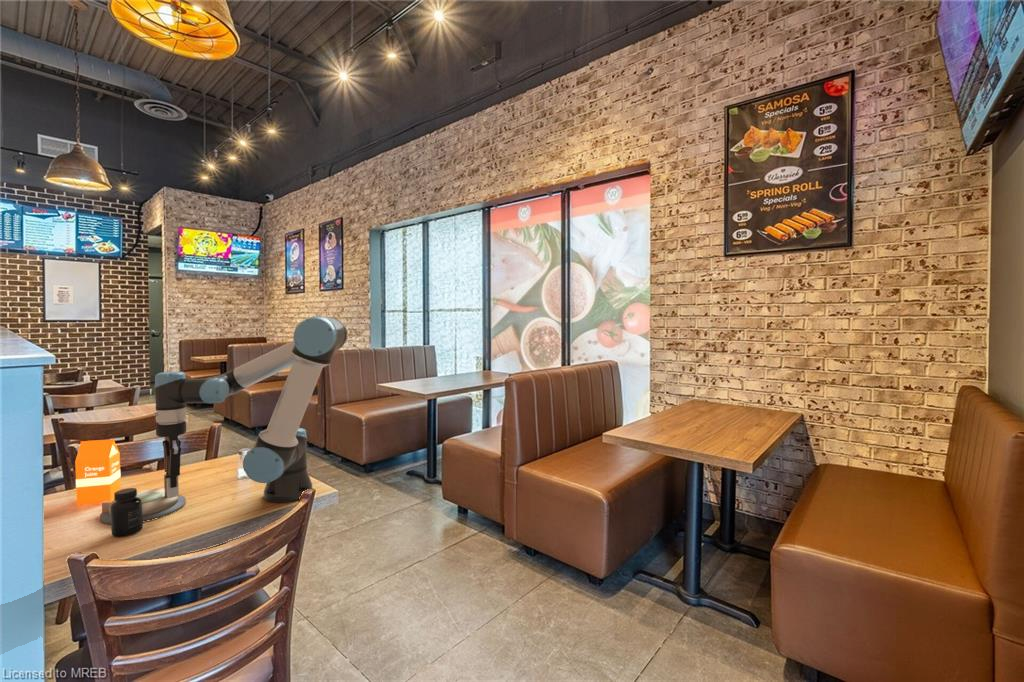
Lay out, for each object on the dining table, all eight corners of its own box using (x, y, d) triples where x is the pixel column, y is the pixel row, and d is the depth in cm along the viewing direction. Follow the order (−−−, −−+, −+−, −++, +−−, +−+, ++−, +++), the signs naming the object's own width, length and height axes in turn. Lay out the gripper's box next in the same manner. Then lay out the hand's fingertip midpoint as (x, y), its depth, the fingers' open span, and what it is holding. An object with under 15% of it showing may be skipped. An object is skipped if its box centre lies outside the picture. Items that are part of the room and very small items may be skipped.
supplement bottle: (143, 524, 133) (142, 484, 132) (142, 533, 127) (141, 491, 127) (112, 531, 128) (110, 489, 128) (110, 540, 123) (108, 497, 122)
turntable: (185, 492, 153) (184, 465, 153) (168, 513, 138) (167, 482, 137) (122, 499, 147) (122, 471, 147) (97, 521, 131) (96, 489, 131)
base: (193, 493, 156) (193, 482, 156) (173, 518, 136) (173, 506, 136) (118, 501, 148) (117, 489, 148) (85, 530, 129) (84, 516, 129)
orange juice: (88, 496, 152) (86, 438, 151) (121, 493, 155) (119, 436, 154) (76, 505, 145) (74, 444, 144) (110, 502, 148) (108, 442, 147)
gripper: (151, 420, 141) (153, 494, 142) (160, 427, 132) (162, 506, 133) (181, 416, 147) (182, 487, 148) (190, 423, 138) (192, 499, 139)
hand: (172, 496), depth 141 cm, fingers closed
